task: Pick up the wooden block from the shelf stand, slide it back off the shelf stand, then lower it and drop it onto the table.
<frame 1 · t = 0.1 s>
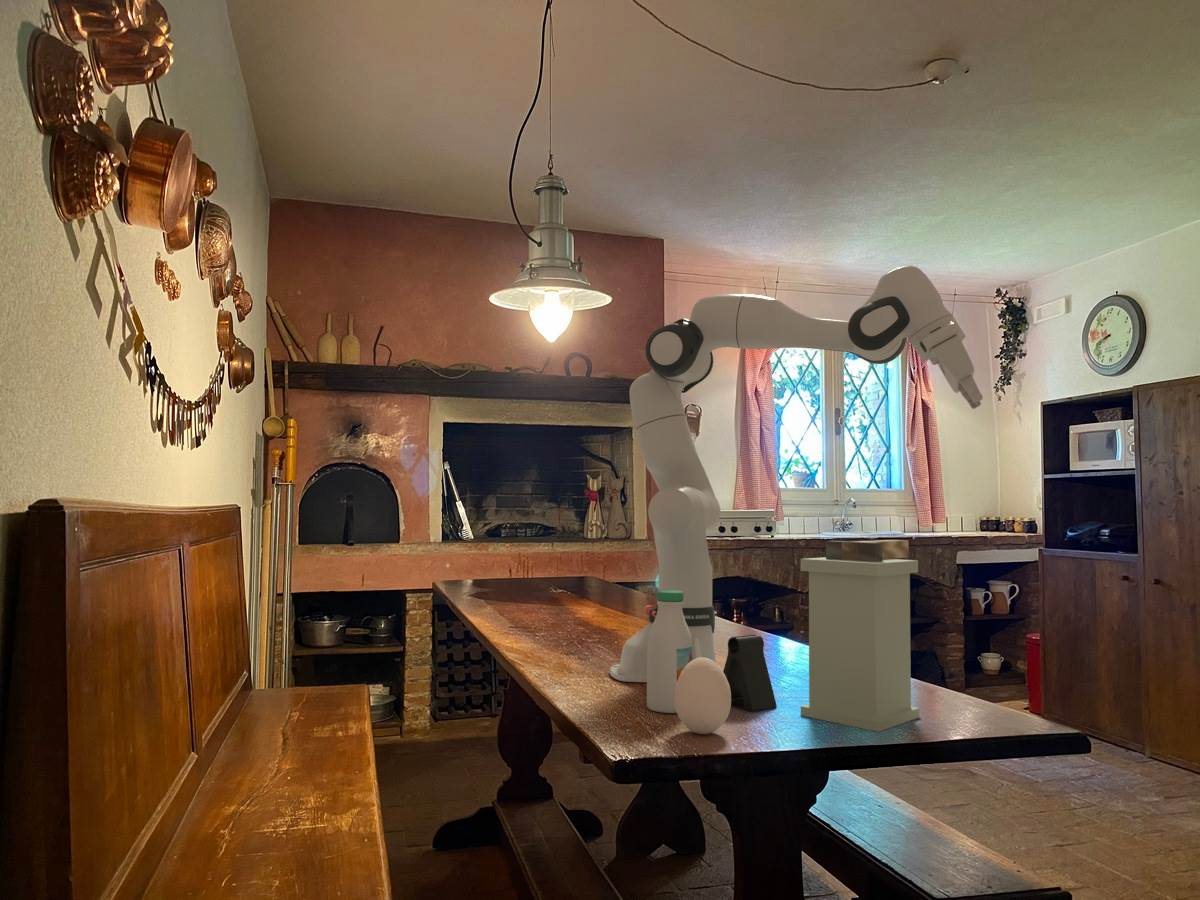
hand: (978, 404, 160), 54 cm above the table, tool tilted 30°, fingers open, 8 cm apart
milk bottle: (669, 710, 147), on the table
egg: (702, 734, 132), on the table
phone stand: (745, 706, 151), on the table
shelf stand: (860, 716, 144), on the table
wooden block: (876, 558, 150), point 26 cm above the table, touching shelf stand
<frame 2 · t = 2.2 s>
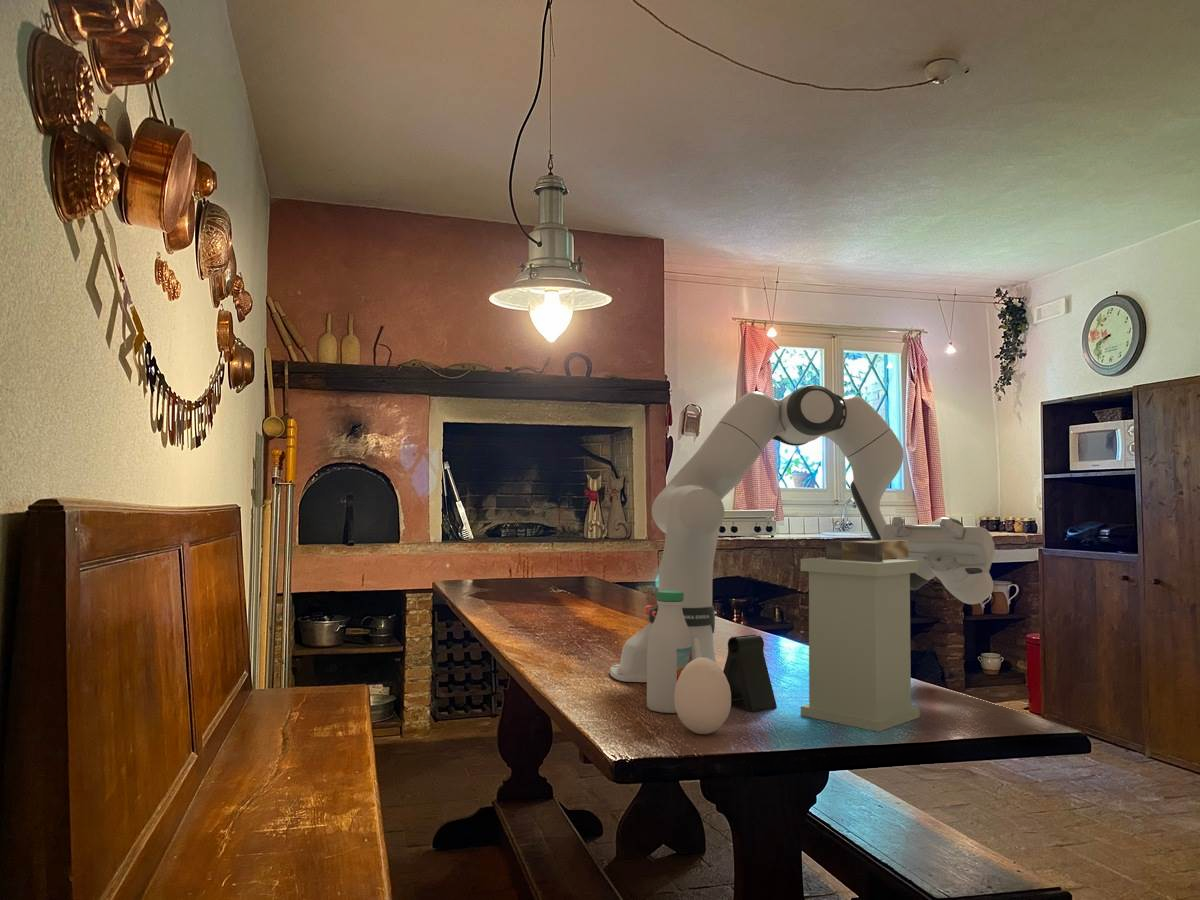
hand: (919, 520, 162), 33 cm above the table, tool pointing upward, fingers open, 8 cm apart
nothing on the table moved.
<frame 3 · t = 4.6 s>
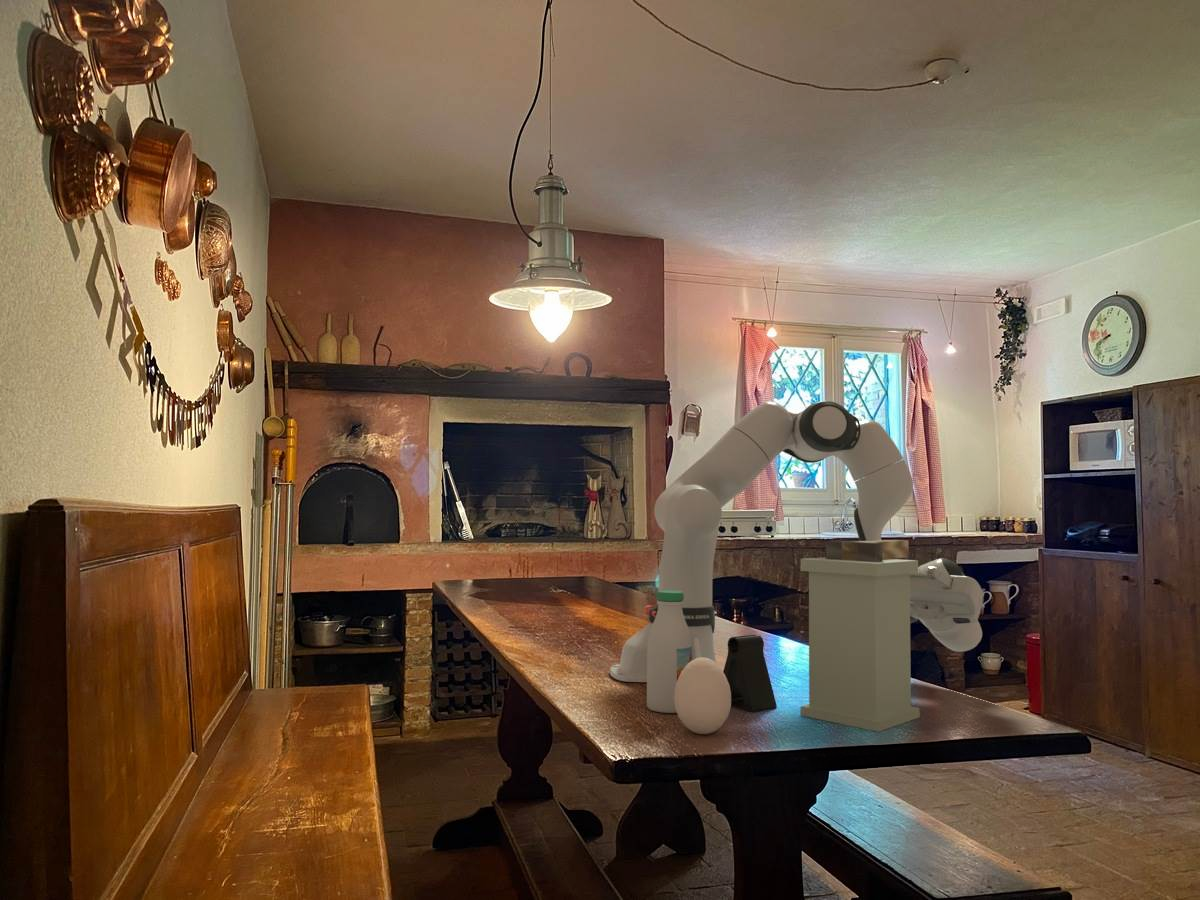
hand: (906, 568, 158), 24 cm above the table, tool pointing upward, fingers open, 8 cm apart
nothing on the table moved.
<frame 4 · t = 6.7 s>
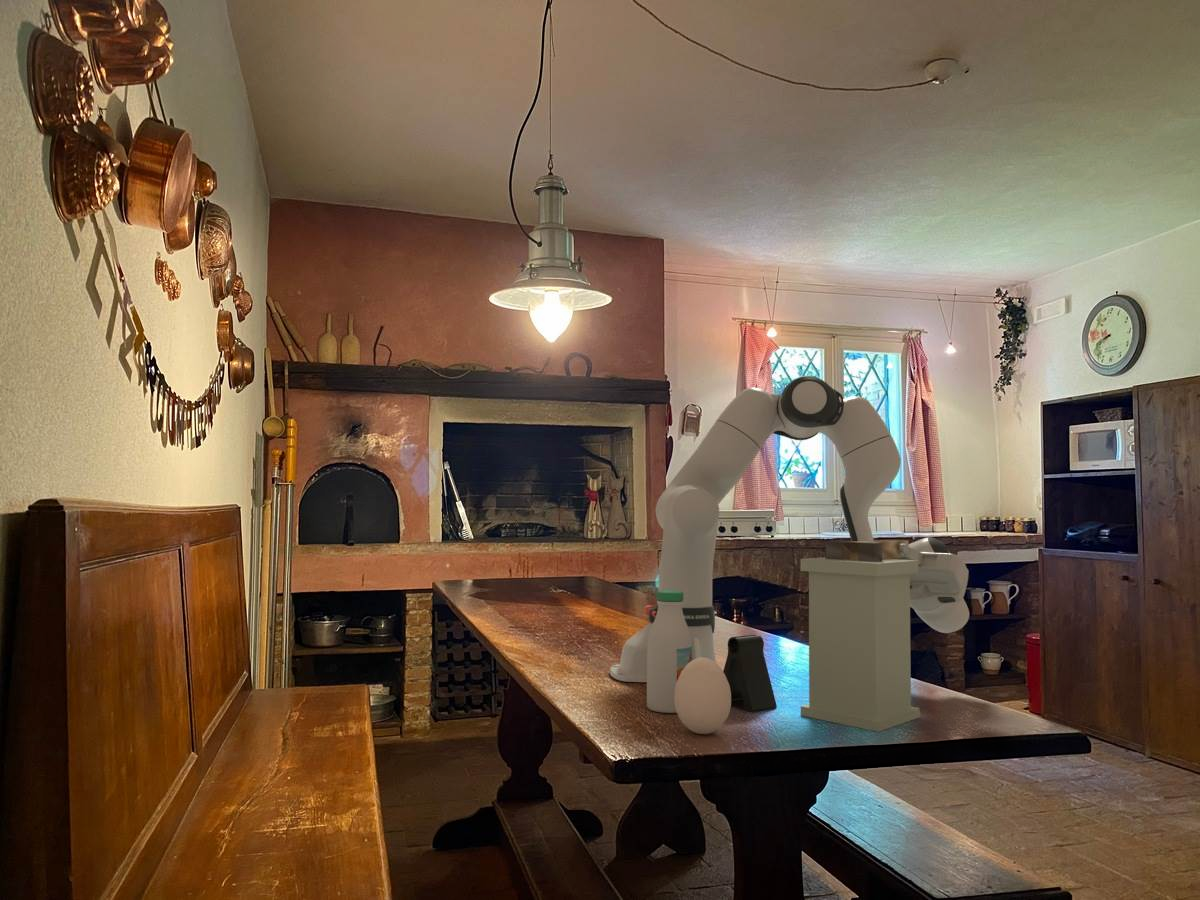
hand: (889, 546, 153), 28 cm above the table, tool pointing upward, fingers closed on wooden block, 3 cm apart
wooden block: (876, 558, 150), point 26 cm above the table, touching gripper, shelf stand
everything else where it was.
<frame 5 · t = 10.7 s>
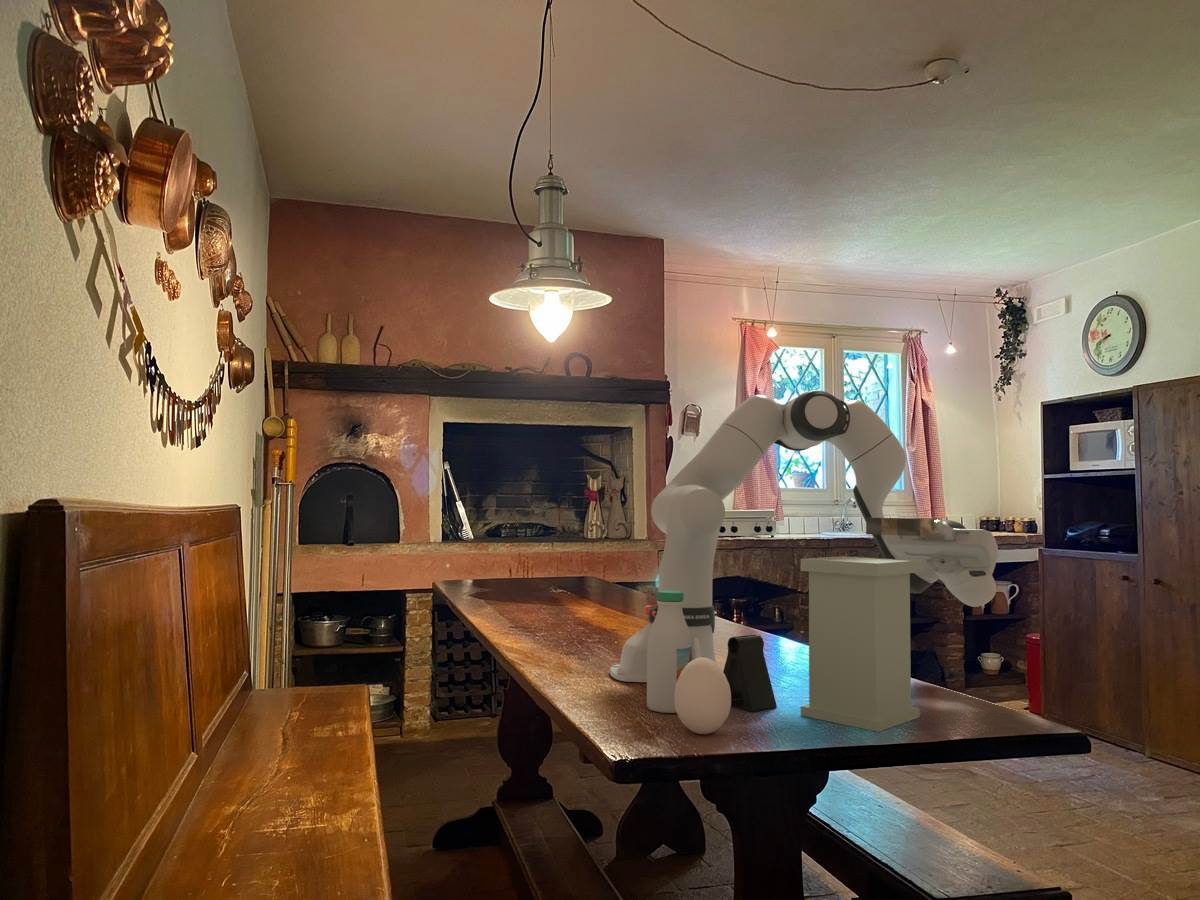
hand: (923, 523, 163), 32 cm above the table, tool pointing upward, fingers closed on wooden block, 3 cm apart
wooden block: (912, 534, 160), point 30 cm above the table, touching gripper
everything else where it was.
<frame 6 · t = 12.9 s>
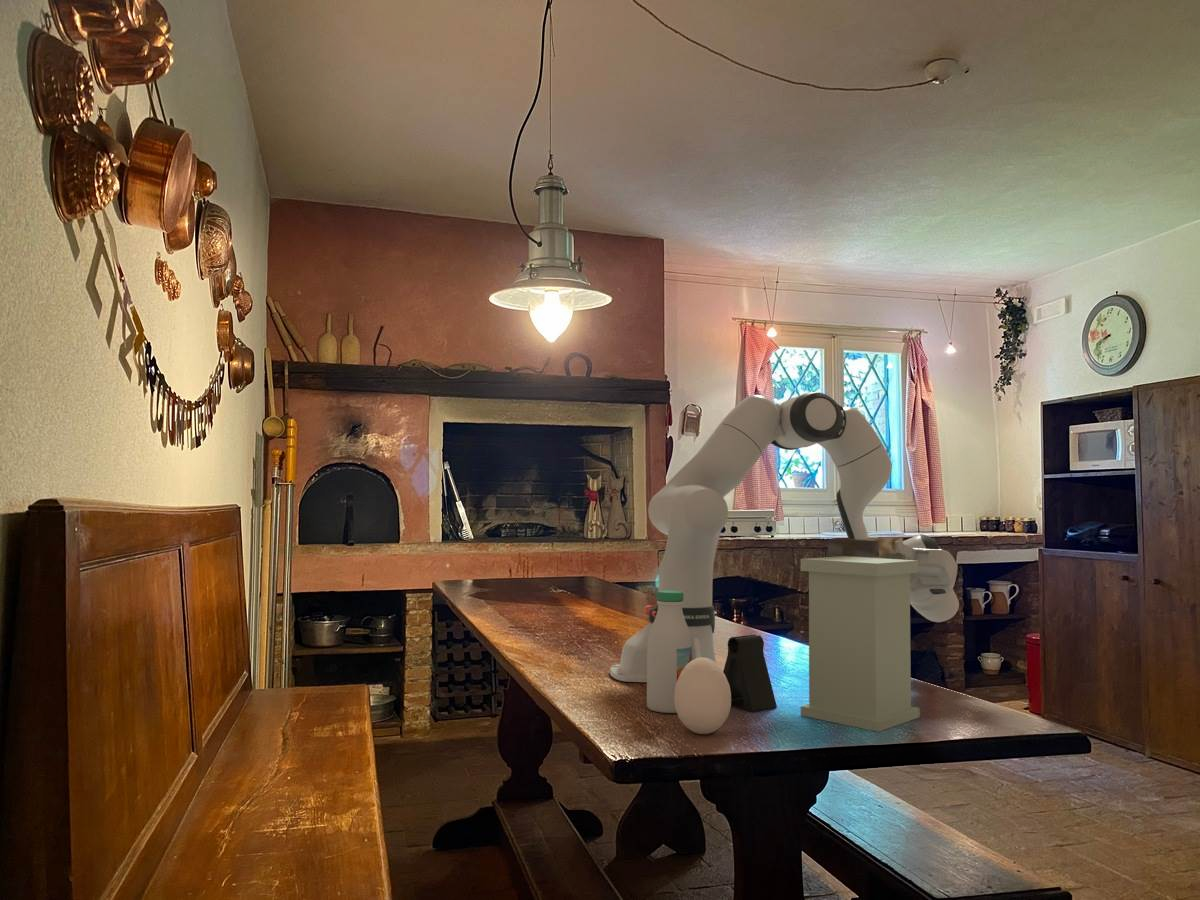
hand: (885, 543, 169), 28 cm above the table, tool pointing upward, fingers closed on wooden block, 3 cm apart
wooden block: (873, 554, 165), point 26 cm above the table, touching gripper
everything else where it was.
when the fingers open (19 cm above the table, at t = 14.7 s): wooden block drops 17 cm, on the table.
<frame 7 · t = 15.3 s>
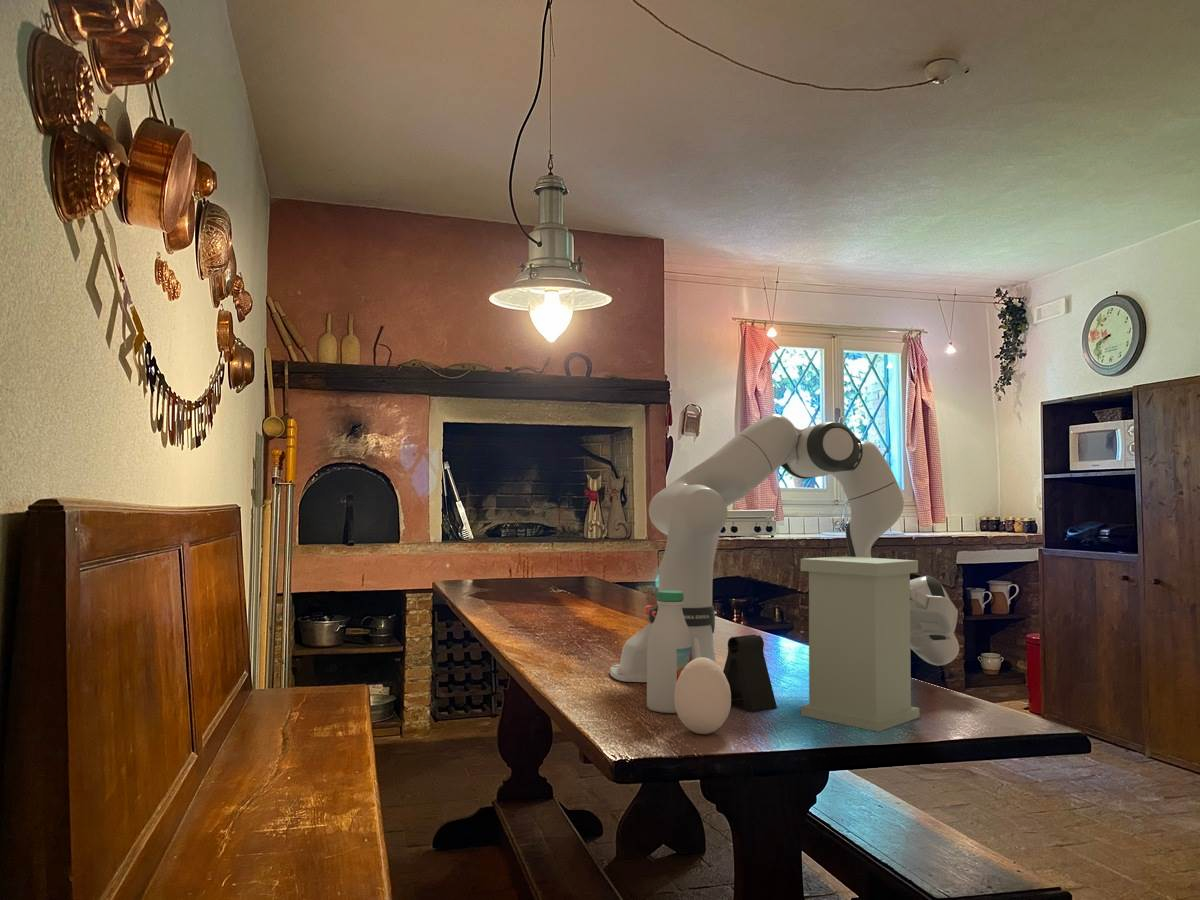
hand: (885, 589, 168), 19 cm above the table, tool pointing upward, fingers open, 8 cm apart
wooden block: (874, 691, 164), on the table
everything else where it was.
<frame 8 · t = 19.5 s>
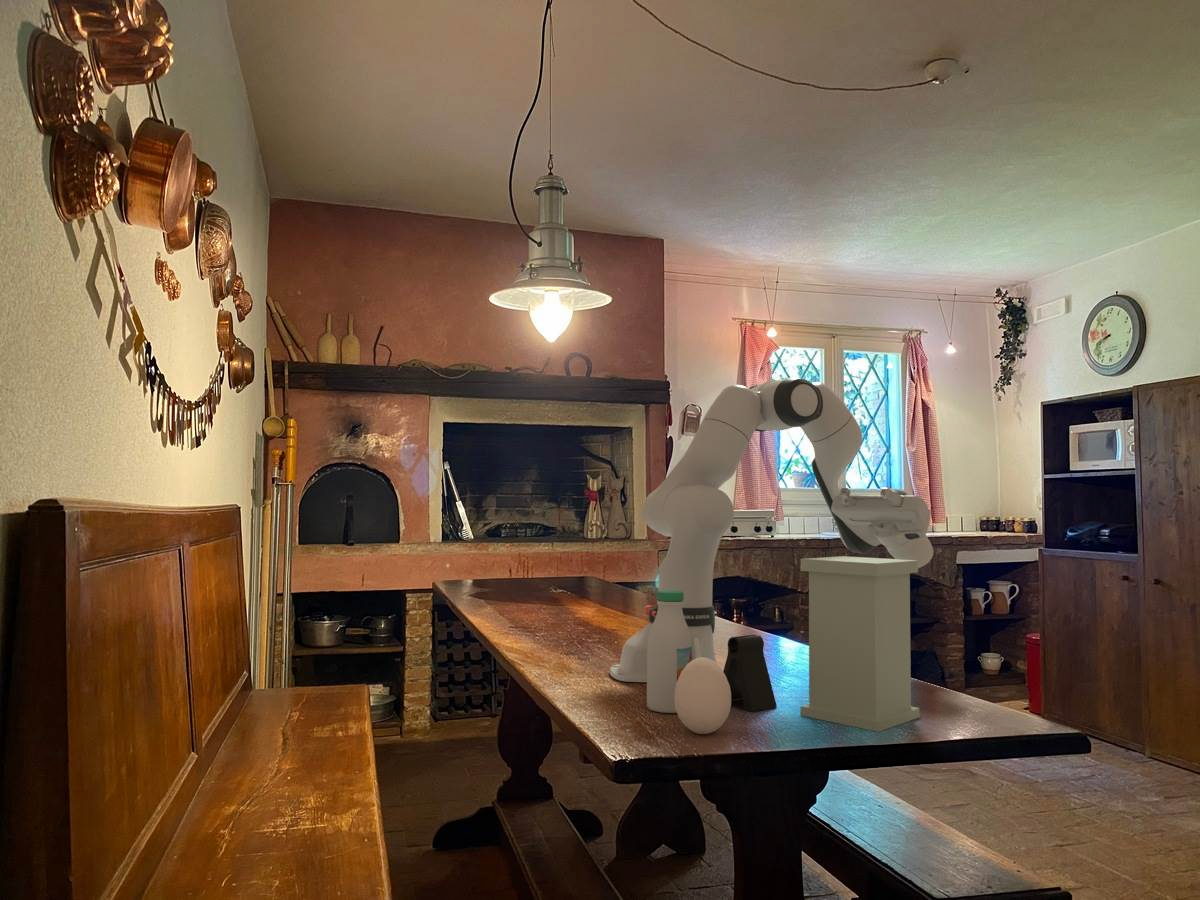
hand: (863, 490, 181), 38 cm above the table, tool pointing upward, fingers open, 8 cm apart
nothing on the table moved.
at the end: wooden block inside the target area (0.3 cm from its centre), on the table; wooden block touching table; the gripper is holding nothing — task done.
